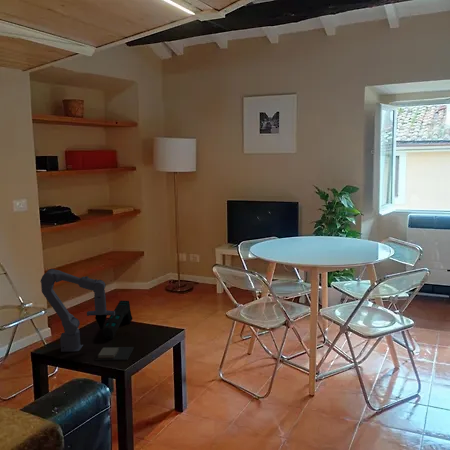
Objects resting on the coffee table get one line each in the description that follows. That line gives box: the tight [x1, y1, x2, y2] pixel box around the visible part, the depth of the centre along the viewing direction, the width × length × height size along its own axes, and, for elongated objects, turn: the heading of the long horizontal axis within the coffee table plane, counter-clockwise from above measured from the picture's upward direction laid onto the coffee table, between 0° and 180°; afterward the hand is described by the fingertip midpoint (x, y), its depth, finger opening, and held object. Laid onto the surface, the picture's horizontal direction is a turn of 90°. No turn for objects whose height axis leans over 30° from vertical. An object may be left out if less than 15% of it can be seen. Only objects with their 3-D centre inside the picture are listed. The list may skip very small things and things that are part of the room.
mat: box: [95, 346, 135, 362], centre depth 245 cm, size 16×15×1 cm
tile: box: [97, 347, 119, 358], centre depth 244 cm, size 8×2×9 cm
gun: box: [102, 300, 133, 340], centre depth 278 cm, size 6×29×15 cm, turn 171°
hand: (101, 328), depth 253 cm, fingers closed
